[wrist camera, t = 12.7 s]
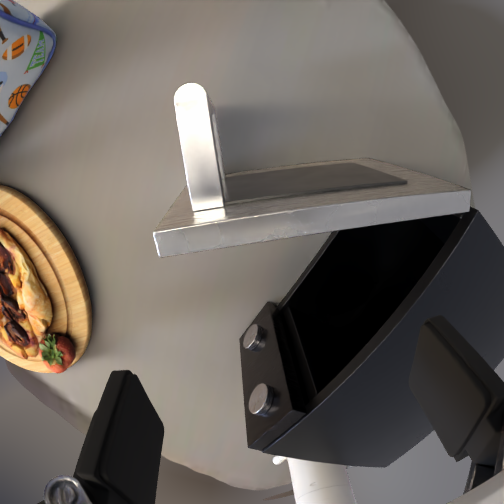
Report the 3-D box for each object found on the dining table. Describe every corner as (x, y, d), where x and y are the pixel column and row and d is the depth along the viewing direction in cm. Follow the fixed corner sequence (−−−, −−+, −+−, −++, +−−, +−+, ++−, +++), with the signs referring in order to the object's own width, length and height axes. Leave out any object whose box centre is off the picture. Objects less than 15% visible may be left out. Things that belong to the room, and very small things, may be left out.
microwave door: (178, 109, 29) (124, 88, 13) (362, 91, 30) (465, 74, 13) (192, 194, 33) (159, 258, 17) (369, 171, 34) (470, 212, 17)
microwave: (234, 335, 41) (240, 447, 24) (360, 157, 33) (462, 190, 16) (349, 381, 47) (385, 467, 30) (459, 249, 39) (539, 309, 22)
